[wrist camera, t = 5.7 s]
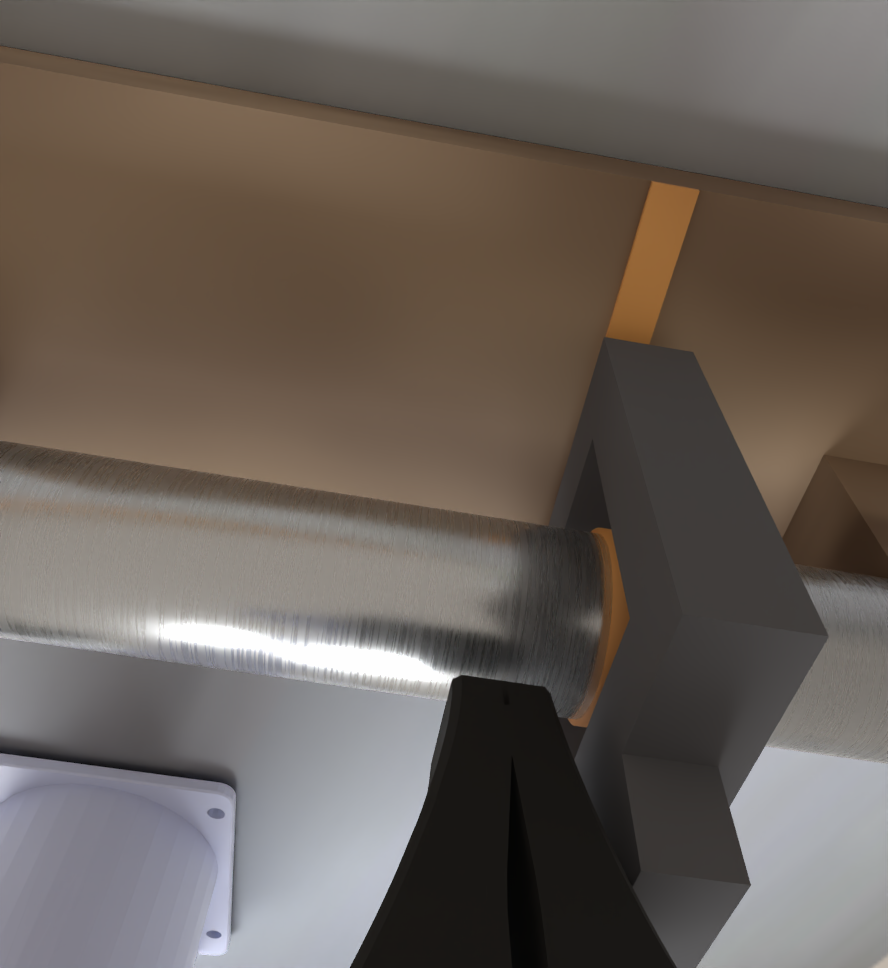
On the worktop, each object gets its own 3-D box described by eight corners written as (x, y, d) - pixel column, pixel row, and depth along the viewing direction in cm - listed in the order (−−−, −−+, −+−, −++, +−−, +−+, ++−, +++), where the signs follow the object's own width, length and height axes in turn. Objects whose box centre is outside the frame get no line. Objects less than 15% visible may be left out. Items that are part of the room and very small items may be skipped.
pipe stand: (781, 684, 22) (889, 964, 16) (-80, 558, 21) (-303, 813, 15) (1035, 235, 15) (1378, 435, 9) (-213, 6, 14) (-712, 75, 8)
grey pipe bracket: (589, 637, 19) (654, 1075, 12) (518, 626, 19) (540, 1062, 12) (693, 351, 15) (884, 753, 8) (604, 337, 15) (715, 728, 8)
